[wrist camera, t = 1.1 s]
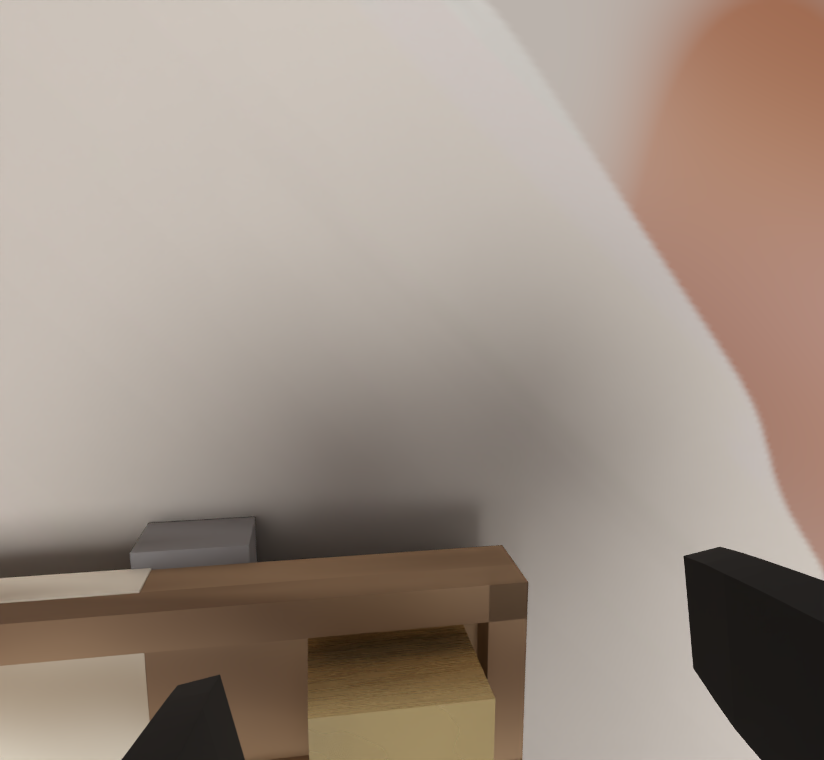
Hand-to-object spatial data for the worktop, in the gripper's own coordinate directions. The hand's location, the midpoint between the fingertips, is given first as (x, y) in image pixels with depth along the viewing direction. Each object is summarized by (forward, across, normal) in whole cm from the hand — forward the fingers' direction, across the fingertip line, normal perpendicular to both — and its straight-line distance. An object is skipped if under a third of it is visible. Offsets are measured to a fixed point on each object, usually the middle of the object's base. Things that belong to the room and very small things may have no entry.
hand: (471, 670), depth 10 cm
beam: (+10, +6, +4) cm, 12 cm away
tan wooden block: (+7, +2, +5) cm, 8 cm away
